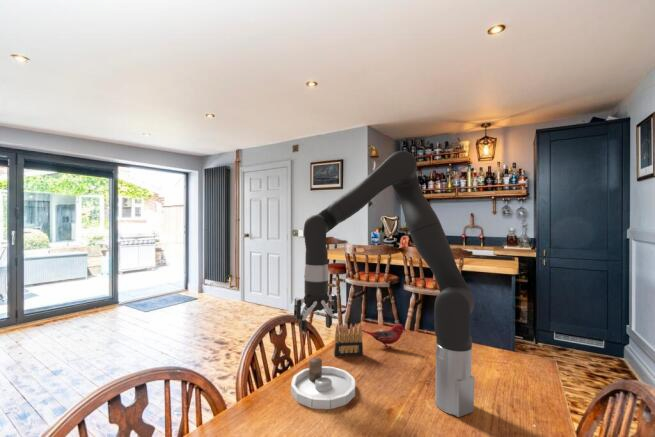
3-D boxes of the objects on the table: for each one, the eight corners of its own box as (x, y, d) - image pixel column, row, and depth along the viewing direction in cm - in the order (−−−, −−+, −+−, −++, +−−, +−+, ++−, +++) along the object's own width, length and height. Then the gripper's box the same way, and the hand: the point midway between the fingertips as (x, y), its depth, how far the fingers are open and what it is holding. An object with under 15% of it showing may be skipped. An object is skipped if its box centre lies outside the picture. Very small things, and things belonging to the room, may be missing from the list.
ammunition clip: (361, 353, 122) (362, 322, 122) (362, 355, 121) (363, 324, 120) (334, 354, 121) (334, 323, 121) (334, 356, 119) (335, 324, 119)
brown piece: (323, 380, 101) (324, 361, 101) (312, 383, 99) (312, 364, 99) (318, 374, 105) (318, 356, 105) (307, 377, 103) (307, 359, 103)
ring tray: (367, 398, 93) (367, 389, 93) (306, 416, 84) (307, 406, 84) (335, 369, 110) (335, 361, 110) (283, 381, 101) (283, 374, 101)
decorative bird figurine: (405, 351, 125) (406, 325, 125) (360, 346, 128) (360, 321, 128) (405, 348, 128) (405, 323, 128) (361, 343, 131) (361, 319, 131)
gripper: (300, 282, 95) (299, 337, 95) (341, 278, 101) (341, 329, 101) (291, 278, 101) (290, 329, 101) (330, 274, 108) (330, 322, 108)
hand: (316, 329), depth 101 cm, fingers open, 8 cm apart
